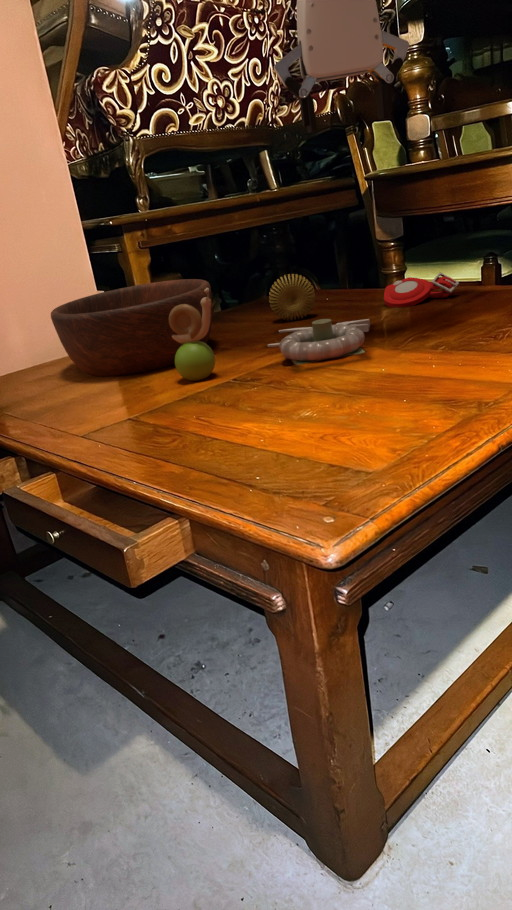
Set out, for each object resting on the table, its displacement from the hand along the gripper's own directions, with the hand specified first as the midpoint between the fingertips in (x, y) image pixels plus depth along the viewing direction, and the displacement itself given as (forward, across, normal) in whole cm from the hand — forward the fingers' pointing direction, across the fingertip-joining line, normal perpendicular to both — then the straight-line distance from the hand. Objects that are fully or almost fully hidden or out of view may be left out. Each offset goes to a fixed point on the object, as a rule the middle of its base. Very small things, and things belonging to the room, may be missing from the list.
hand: (348, 125), depth 91 cm
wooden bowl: (+28, +34, -12) cm, 46 cm away
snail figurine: (+28, +25, +7) cm, 39 cm away
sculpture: (+28, +8, -21) cm, 36 cm away
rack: (+28, +8, +8) cm, 30 cm away
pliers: (+29, +6, -6) cm, 30 cm away
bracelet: (+26, +8, +8) cm, 28 cm away
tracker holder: (+28, -13, -18) cm, 36 cm away
